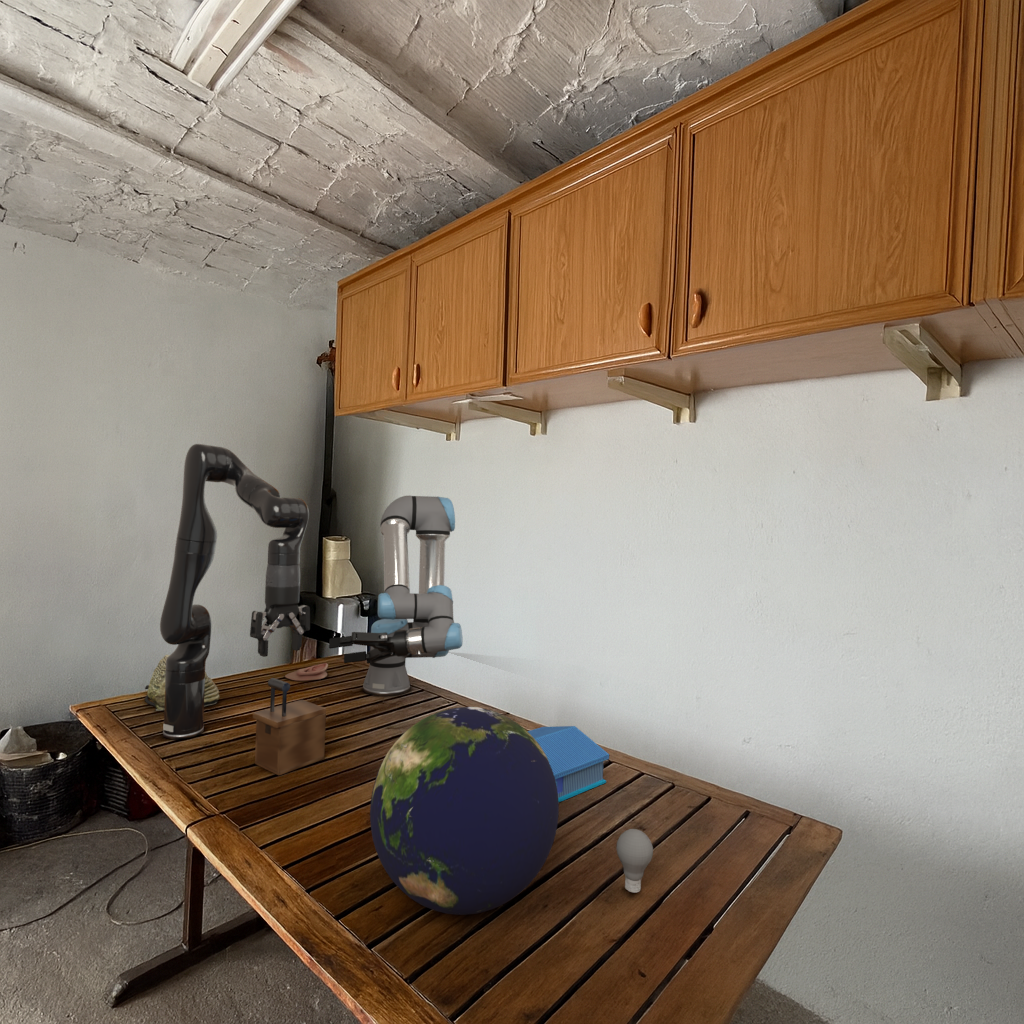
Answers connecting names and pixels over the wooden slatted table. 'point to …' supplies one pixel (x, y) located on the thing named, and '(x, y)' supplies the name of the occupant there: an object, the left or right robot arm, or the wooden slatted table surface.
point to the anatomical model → (309, 673)
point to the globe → (464, 810)
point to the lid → (286, 708)
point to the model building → (571, 759)
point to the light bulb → (634, 857)
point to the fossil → (158, 687)
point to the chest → (290, 744)
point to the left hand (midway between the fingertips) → (280, 652)
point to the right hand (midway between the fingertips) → (337, 651)
